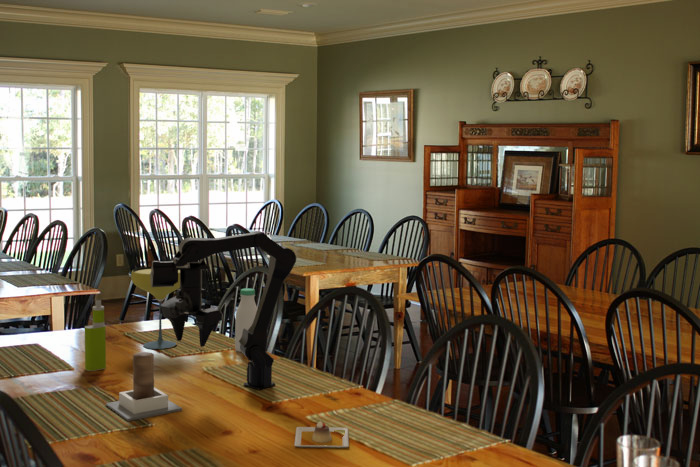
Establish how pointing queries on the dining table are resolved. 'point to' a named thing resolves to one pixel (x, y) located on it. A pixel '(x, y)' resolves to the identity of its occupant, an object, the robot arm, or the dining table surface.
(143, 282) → the cocktail glass
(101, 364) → the vape
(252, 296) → the milk bottle
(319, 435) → the dessert
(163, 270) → the robot arm
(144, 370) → the plug
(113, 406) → the socket dock
